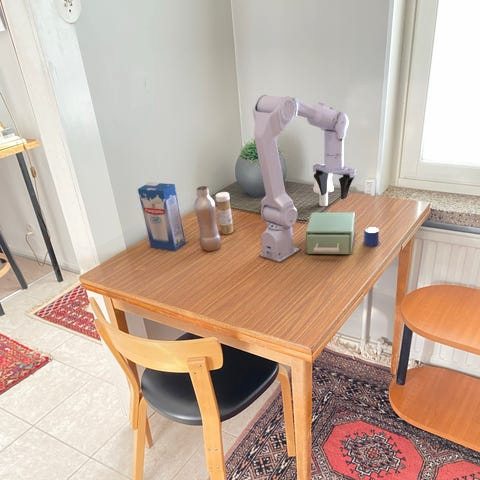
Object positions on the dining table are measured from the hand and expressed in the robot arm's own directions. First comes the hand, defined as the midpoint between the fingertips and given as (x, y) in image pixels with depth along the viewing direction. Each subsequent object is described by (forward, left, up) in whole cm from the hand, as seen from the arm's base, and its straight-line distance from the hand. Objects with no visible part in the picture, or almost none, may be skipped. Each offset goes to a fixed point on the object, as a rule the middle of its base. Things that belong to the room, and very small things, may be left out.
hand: (333, 196), depth 155 cm
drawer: (-15, -9, -9) cm, 20 cm away
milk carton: (-40, +38, -10) cm, 56 cm away
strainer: (+14, +14, -10) cm, 22 cm away
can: (-6, -17, -10) cm, 21 cm away
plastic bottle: (-34, +23, -10) cm, 43 cm away
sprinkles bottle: (-22, +28, -10) cm, 37 cm away
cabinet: (-12, -7, -10) cm, 17 cm away
